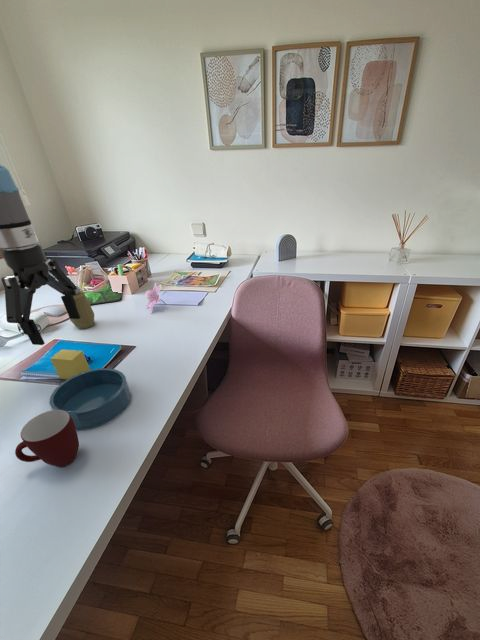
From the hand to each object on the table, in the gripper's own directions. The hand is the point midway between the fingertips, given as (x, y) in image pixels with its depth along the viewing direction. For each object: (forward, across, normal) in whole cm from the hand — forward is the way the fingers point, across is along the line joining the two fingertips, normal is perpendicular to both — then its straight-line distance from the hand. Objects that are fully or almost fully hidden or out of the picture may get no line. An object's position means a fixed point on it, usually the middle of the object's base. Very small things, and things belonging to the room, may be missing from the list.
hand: (58, 330), depth 78 cm
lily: (+14, +44, -4) cm, 47 cm away
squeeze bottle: (+14, +28, +16) cm, 35 cm away
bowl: (+14, -11, -13) cm, 22 cm away
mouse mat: (+14, +57, +30) cm, 66 cm away
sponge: (+14, 0, 0) cm, 14 cm away
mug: (+14, -28, -15) cm, 35 cm away
